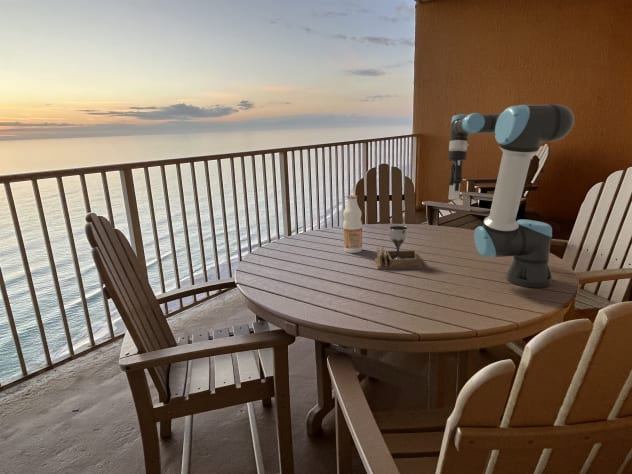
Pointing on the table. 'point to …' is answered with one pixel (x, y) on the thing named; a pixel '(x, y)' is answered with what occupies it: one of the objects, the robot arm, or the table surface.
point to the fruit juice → (352, 226)
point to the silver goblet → (398, 237)
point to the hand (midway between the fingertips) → (453, 199)
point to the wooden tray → (398, 260)
